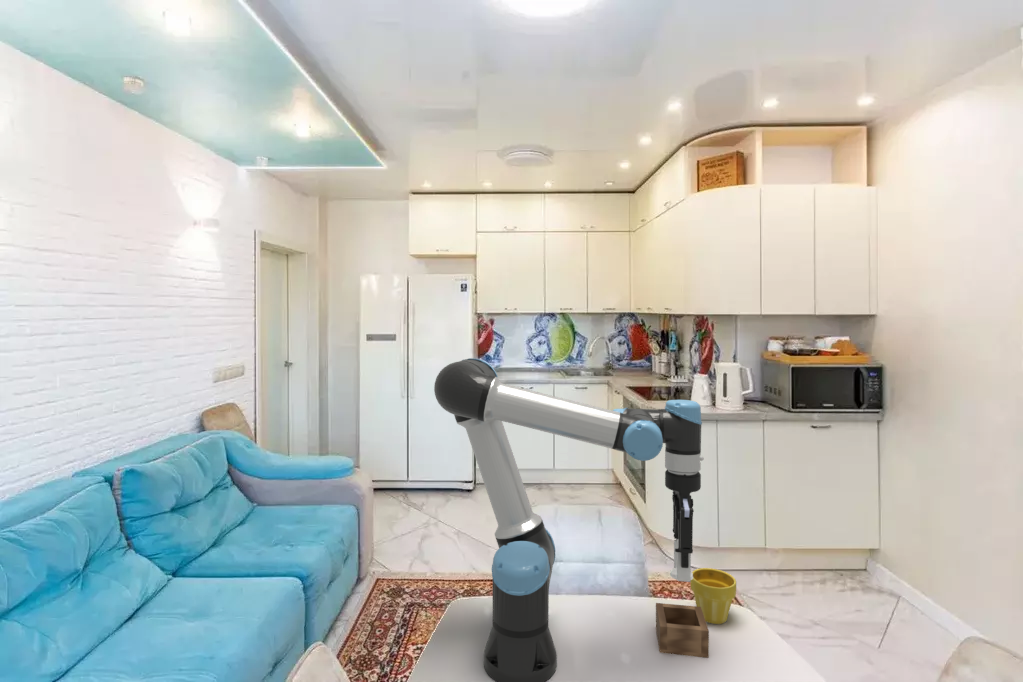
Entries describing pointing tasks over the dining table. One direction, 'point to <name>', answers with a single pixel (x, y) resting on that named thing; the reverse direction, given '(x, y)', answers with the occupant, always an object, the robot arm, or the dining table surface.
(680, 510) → the robot arm
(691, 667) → the dining table surface
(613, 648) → the dining table surface
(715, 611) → the plant pot
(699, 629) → the walnut holder
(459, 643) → the dining table surface
